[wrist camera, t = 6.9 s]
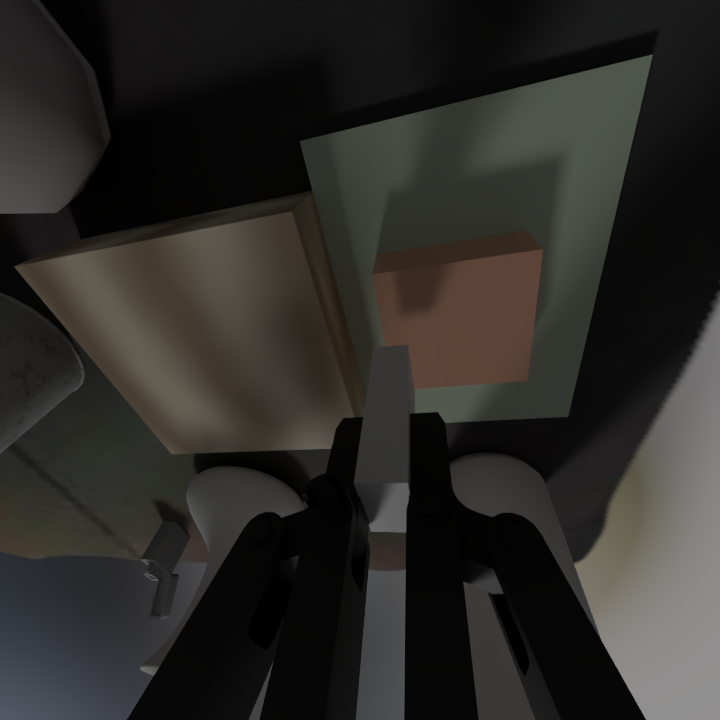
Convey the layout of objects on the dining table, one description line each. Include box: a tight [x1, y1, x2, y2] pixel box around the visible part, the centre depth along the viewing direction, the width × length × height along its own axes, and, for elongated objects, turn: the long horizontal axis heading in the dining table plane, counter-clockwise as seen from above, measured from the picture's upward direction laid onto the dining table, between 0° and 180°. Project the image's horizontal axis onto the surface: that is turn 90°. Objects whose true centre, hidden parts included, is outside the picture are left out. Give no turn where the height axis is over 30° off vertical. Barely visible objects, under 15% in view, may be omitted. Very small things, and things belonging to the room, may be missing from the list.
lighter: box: [141, 521, 190, 620], centre depth 39 cm, size 7×2×8 cm, turn 10°
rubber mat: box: [300, 55, 653, 423], centre depth 18 cm, size 13×18×1 cm
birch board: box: [14, 191, 366, 454], centre depth 20 cm, size 14×14×4 cm
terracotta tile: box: [372, 231, 543, 389], centre depth 17 cm, size 7×7×2 cm
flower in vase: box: [140, 466, 304, 676], centre depth 23 cm, size 13×11×25 cm
